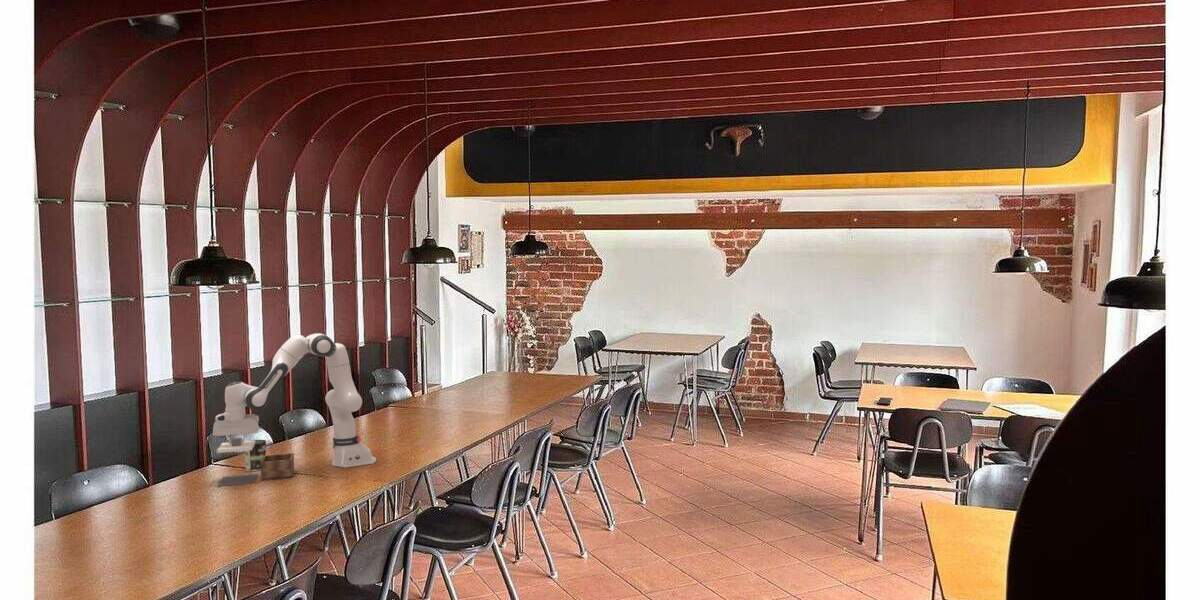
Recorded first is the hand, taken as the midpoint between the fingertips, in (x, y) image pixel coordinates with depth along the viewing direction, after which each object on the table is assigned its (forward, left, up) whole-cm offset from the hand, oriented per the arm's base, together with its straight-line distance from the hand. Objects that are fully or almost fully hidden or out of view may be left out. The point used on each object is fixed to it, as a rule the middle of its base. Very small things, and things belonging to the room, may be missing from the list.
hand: (236, 443), depth 377 cm
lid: (0, 0, -2) cm, 2 cm away
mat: (0, 0, -18) cm, 18 cm away
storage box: (-18, -2, -18) cm, 26 cm away
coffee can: (-6, -20, -19) cm, 28 cm away
